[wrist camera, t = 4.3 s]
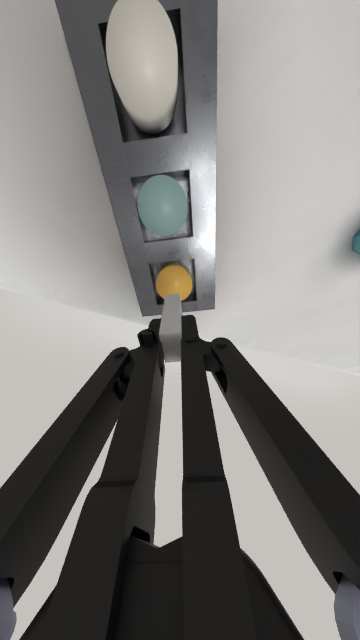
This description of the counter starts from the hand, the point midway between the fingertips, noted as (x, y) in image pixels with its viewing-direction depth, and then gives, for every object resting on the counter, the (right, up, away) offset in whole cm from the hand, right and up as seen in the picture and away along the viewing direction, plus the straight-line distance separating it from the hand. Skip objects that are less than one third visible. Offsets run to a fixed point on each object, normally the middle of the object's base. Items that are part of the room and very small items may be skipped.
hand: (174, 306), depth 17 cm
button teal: (-1, +12, +3) cm, 12 cm away
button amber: (0, +5, +9) cm, 10 cm away
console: (-1, +14, +5) cm, 15 cm away
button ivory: (-2, +20, -2) cm, 20 cm away
